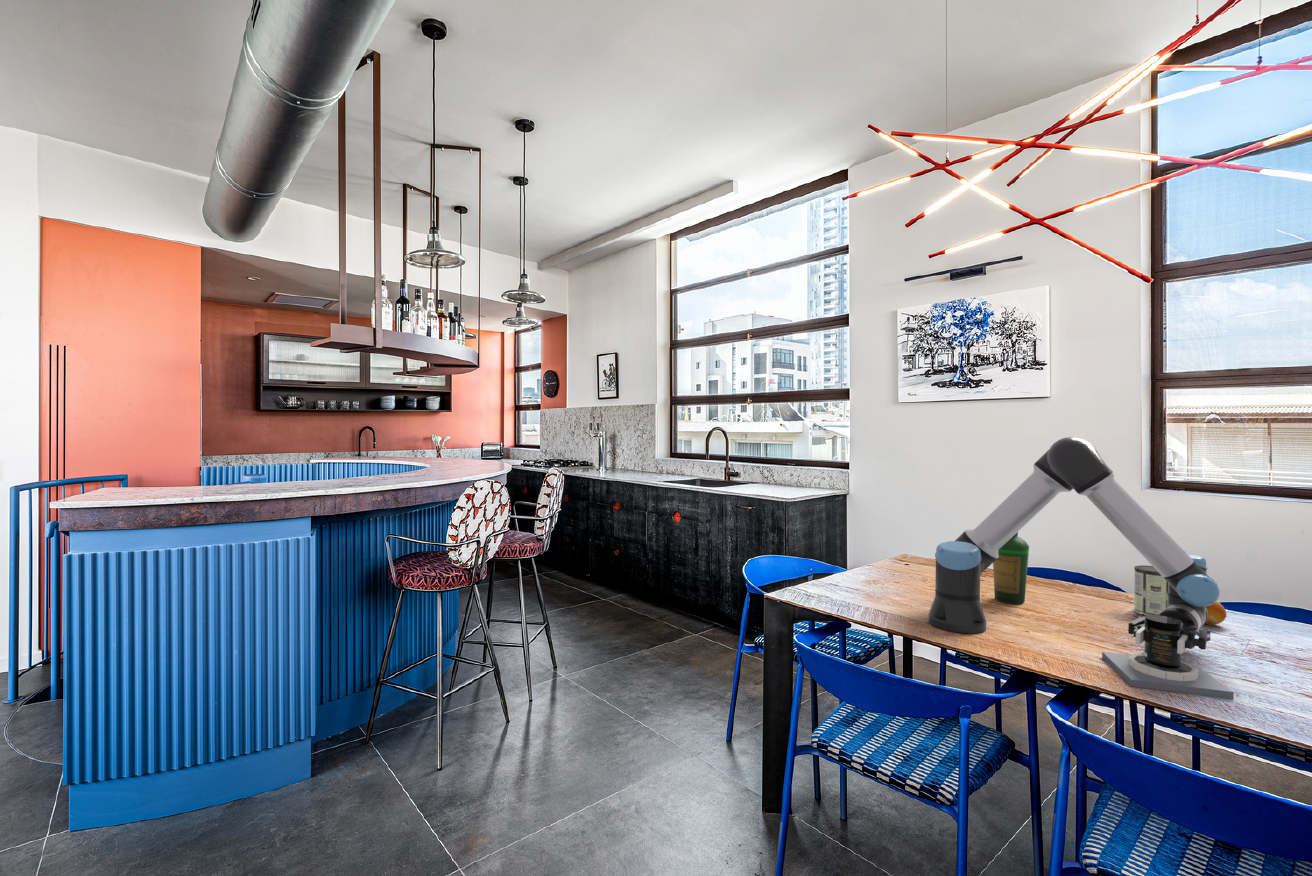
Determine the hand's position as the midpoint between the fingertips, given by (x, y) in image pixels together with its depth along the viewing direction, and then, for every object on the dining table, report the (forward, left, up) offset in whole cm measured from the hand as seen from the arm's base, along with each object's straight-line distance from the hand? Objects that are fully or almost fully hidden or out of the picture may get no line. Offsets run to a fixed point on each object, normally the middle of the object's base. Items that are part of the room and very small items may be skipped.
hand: (1158, 643), depth 136 cm
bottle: (-17, +62, -9) cm, 65 cm away
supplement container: (+3, +4, -6) cm, 8 cm away
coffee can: (+23, +63, -9) cm, 68 cm away
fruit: (+33, +56, -9) cm, 66 cm away
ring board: (+3, +4, -9) cm, 10 cm away
